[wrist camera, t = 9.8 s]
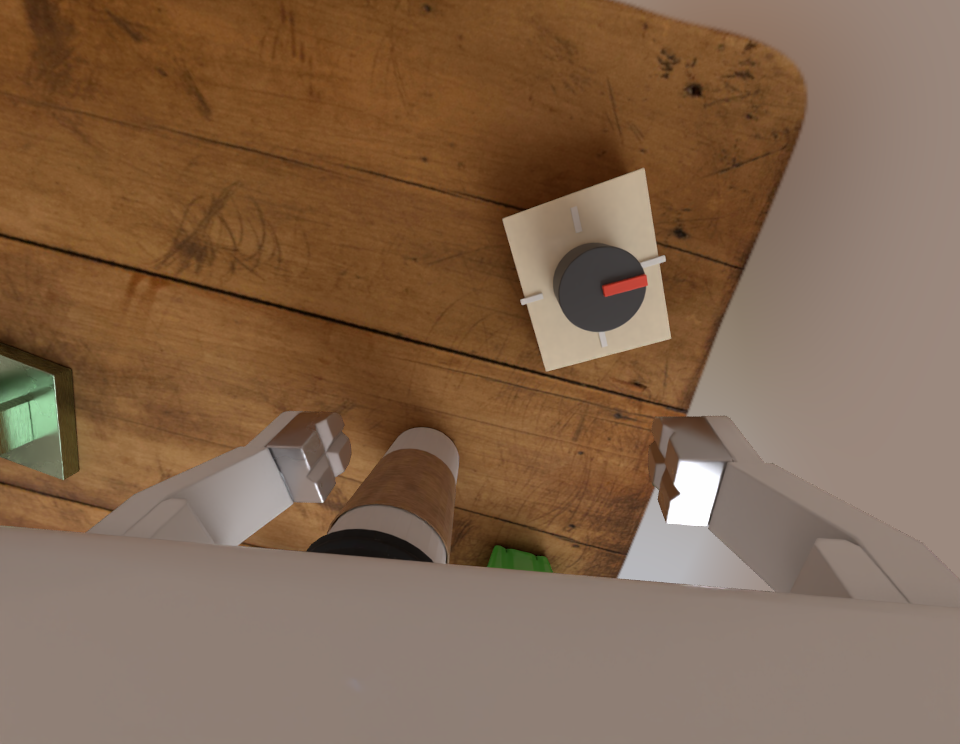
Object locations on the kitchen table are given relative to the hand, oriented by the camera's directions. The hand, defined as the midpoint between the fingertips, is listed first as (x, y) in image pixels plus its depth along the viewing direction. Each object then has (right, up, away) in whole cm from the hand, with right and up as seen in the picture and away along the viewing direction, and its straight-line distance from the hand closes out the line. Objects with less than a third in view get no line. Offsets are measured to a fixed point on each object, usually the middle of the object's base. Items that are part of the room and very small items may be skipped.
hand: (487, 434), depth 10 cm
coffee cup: (-5, -6, +22) cm, 24 cm away
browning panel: (+7, +8, +15) cm, 19 cm away
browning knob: (+6, +7, +13) cm, 16 cm away
